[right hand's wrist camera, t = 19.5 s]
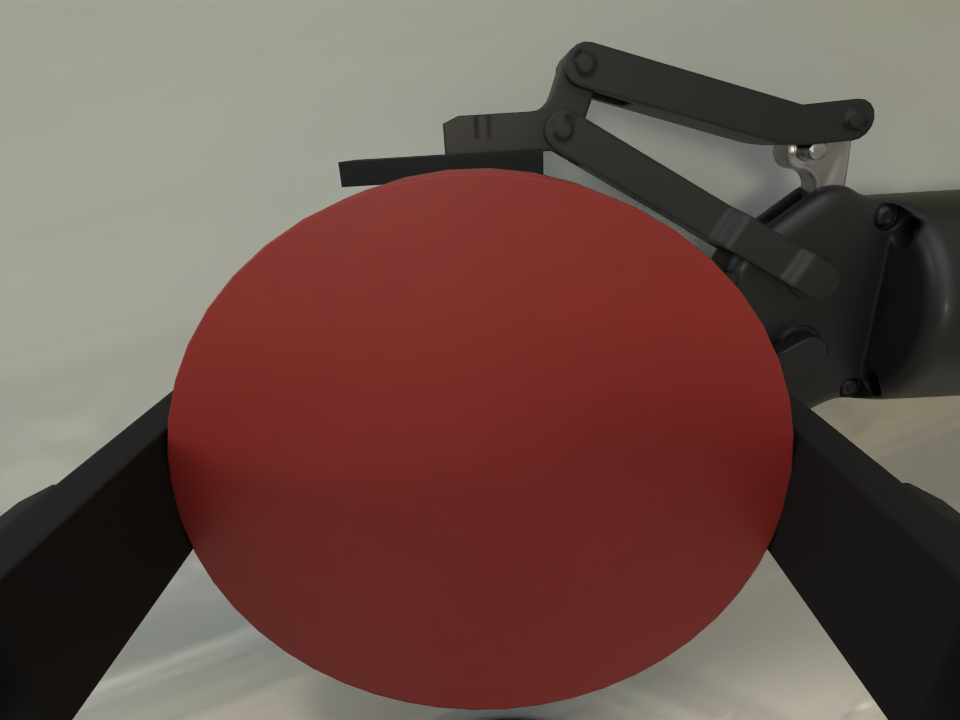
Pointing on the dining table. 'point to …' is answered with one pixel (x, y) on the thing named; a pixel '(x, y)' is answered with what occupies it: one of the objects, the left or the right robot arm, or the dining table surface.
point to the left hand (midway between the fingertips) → (370, 325)
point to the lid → (480, 440)
